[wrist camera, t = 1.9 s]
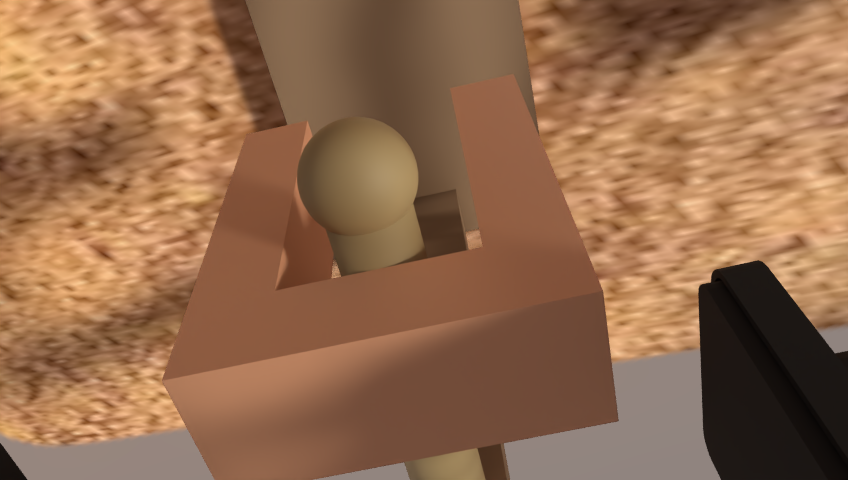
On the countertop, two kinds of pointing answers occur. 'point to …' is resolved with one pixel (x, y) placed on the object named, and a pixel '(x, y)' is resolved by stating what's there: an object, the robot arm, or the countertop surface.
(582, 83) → the countertop surface
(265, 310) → the link
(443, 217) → the stand
